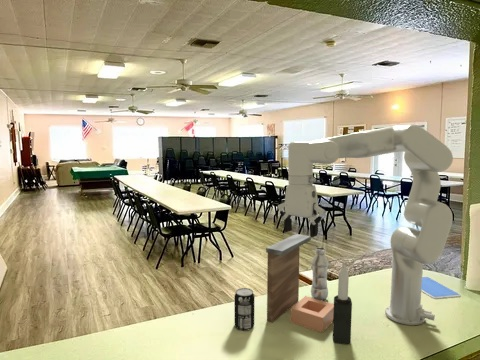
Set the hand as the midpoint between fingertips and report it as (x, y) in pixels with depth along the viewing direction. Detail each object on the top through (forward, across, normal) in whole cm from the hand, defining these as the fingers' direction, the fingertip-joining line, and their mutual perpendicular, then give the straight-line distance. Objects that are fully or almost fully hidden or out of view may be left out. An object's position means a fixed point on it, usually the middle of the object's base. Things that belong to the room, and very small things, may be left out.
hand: (300, 233), depth 113 cm
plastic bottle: (+32, +7, -23) cm, 40 cm away
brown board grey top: (+32, +9, -6) cm, 33 cm away
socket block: (+32, -1, -7) cm, 33 cm away
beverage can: (+31, +14, +12) cm, 37 cm away
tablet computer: (+34, -22, -64) cm, 76 cm away
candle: (+32, -13, -2) cm, 35 cm away
